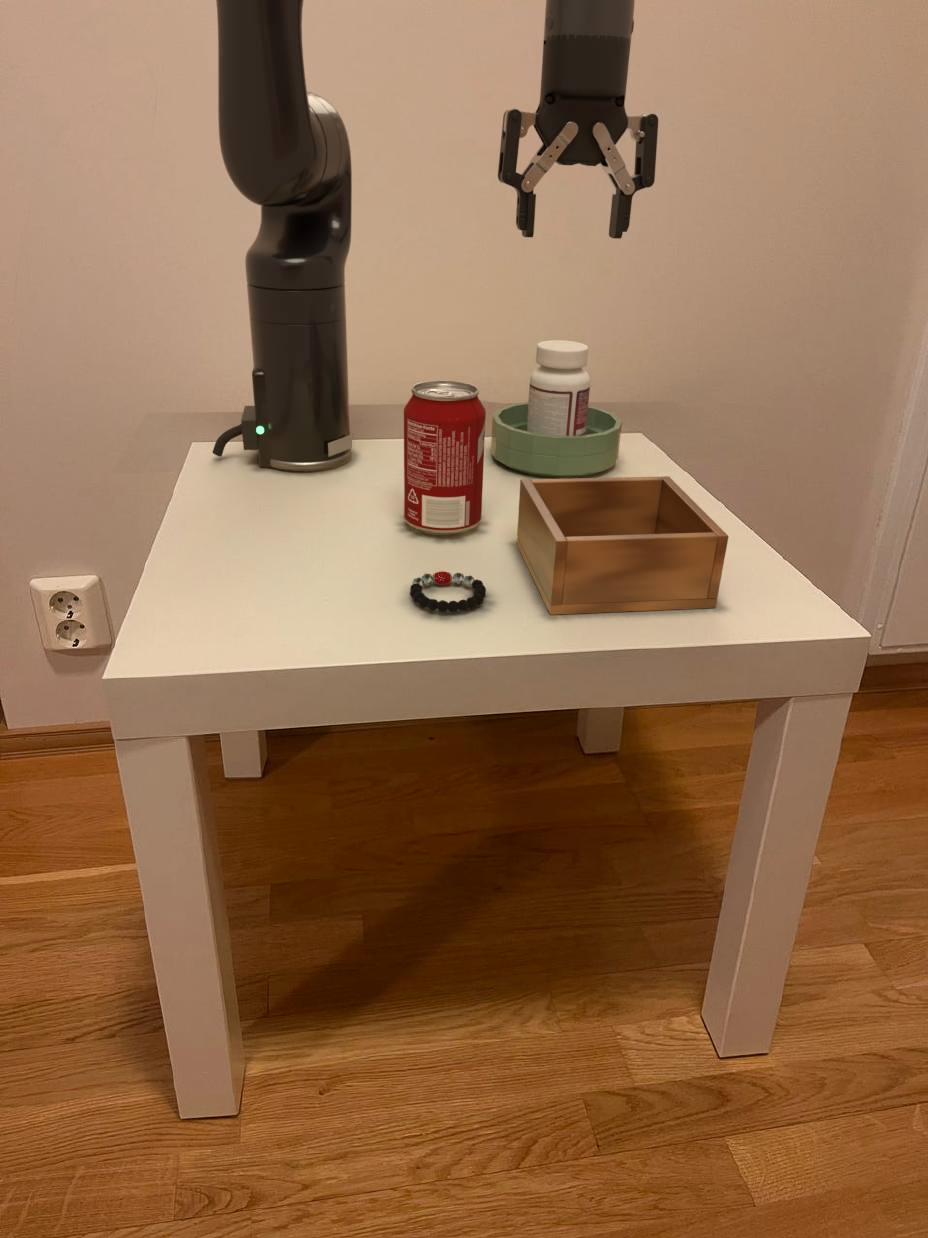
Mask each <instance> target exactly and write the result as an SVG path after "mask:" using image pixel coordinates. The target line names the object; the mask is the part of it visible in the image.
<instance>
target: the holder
mask: <svg viewBox="0 0 928 1238" xmlns="http://www.w3.org/2000/svg"><path fill="white" fill-rule="evenodd" d="M519 483H520V485H519V497H518V498H519V499H518V514H517V532H516V536H517V537H516V546H517V548H518V550H519V552H520V554H521V557H522V558H523V561H524V563H525V565H526V567H527V569H528V571H529V573H530V575H531V578H532V579H533V581H534V583H535V586H536V588H537V590H538V592H539V594H540V596H541V599H542V600H543V603H544V605H545V607H546V609H547V611H548V613H549V615H551V616H552V615H553V616H556V615H578V614H580V615H581V614H598V613H623V612H626V613H627V612H646V611H647V612H648V611H671V610H693V609H696V610H697V609H715V608H716V607H717V602H718V597H719V592H720V586H721V580H722V575H723V574H722V573H723V570H724V565H725V558H726V554H727V553H726V552H727V547H728V543H729V535H728V533H726V532H725V531H724V529H722V528H721V526H720V525H718V524H717V522H715V521H714V520H713V519H712V518H711V516H709V515H708V514H707V513H706V512H705V510H703V509H702V508H701V507H700V506H699V504H697V502H695V501H694V500H693V499H692V498H691V497H690V496H689V494H687V493H686V492H685V491H684V490H683V489H682V488H681V487H680V485H678V484H677V483H676V481H674V480H673V479H672V478H671V476H667V475H666V476H663V475H662V476H626V477H625V476H623V477H622V476H619V477H574V478H531V479H530V478H523V479H522V478H521V479H520V482H519Z"/></svg>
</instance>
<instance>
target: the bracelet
mask: <svg viewBox="0 0 928 1238" xmlns="http://www.w3.org/2000/svg"><path fill="white" fill-rule="evenodd" d="M452 581H453V582H454V583H455V584H457V585H459V584H464V585H465V586H466V587H471V588H472V589H473V595H472V596H468V597H467V598H466V599H460V600H459V601H456V600H450V601H447V600H443V599H442V600H440V601H439V600H437V599H435V598H429V597H427V596H426V594H425V593H424V592H422V591H423V585H426V586H430V585H431V584H432V583H434V584H437V585H442V586H443V585H448V584H450V583H452ZM486 593H487V588H486V586H485V585H484V583H483V581H482V580H480V579H475V577H473V575H471V574H470V575H465V576H464V573H461V572H458V571H457V572H456V573H454V574H453V575H452V573H451V572H449V571H437V572H434V573H432V574H431V573H424V574H423V575H422V576H421V577H416V578H413V579H412V584H411V585H410V590H409V595H410V597H411V598H412V599H413V601H414V603H416V604H418V605H419V607H420V608H422V609H426V608H427V610H429V611H431V612H434V611H436V610H438V612H440V613H446V612H450V613H458V611H460V612H467V611H468V610H469V609H470V610H473V609H476V608H477V607H478V606H481V605H482V604H483V602H484V598H485V597H486Z"/></svg>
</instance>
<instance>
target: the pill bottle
mask: <svg viewBox="0 0 928 1238" xmlns="http://www.w3.org/2000/svg"><path fill="white" fill-rule="evenodd" d="M588 356H589V346H588V345H587V344H585V343H582V342H579V341H572V340H565V339H563V340H562V339H555V340H553V339H552V340H544V341H539V342H538V343H537V345H536V355H535V363H536V364H537V365H539V367H537V368H535V369H534V370H533V371H532V373H531V374H530V376H529V388H528V389H529V390H528V401H527V402H528V418H527V431H528V432H532V433H537V434H547V435H556V436H579V435H586V424H587V413H588V406H589V401H590V391H591V378H590V375H589V373H588V372H587V371H586V370H585V369H583V368H585V367H586V366H588Z"/></svg>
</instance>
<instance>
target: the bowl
mask: <svg viewBox="0 0 928 1238" xmlns="http://www.w3.org/2000/svg"><path fill="white" fill-rule="evenodd" d="M527 418H528V401H526V402H518V403H511V404H508V405H505V406H502V407H500V408H498V409H497V410H495V412H494V413H493V414H492V418H491V442H490V443H491V444H490V452H491V454H492V456H493V458H494V460H495V461H498V462H499V463H501V464H503V465H505V466H506V467H508V468H509V469H512V470H514V471H517V472H520V473H523V474H526V475H531V476H536V477H543V478H551V479H569V478H584V477H588V476H592V475H596V474H599V473H601V472H604V471H606V470H608V469H610V468H612V467H614V466H615V465H616V464H617V461H618V458H619V452H620V445H621V444H620V442H621V434H622V426H623V421H622V420H621V418H619V417H618V416H617V415H616V414H615V413H613V412H610V411H608V410H606V409H603V408H600V407H596V406H591V405H588V413H587V424H586V435H579V436H556V435H547V434H537V433H532V432H528V431H527Z"/></svg>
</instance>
